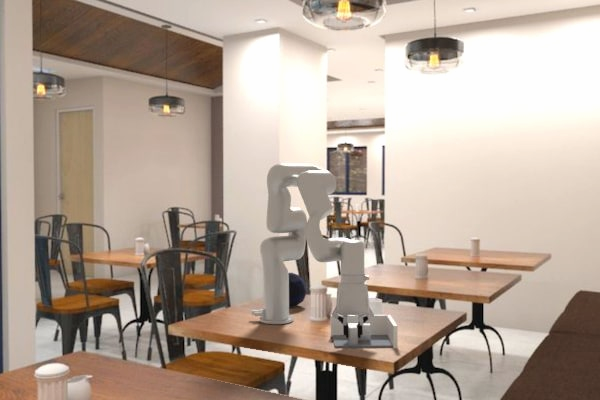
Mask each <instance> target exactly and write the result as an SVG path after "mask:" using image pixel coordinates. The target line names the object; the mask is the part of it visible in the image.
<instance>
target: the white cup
mask: <svg viewBox="0 0 600 400" xmlns="http://www.w3.org/2000/svg"><path fill="white" fill-rule="evenodd" d="M369 307H370V309H371V310H372V312H373V314H374V315H383V314H382V313H383V299H381V298H376V297H369Z"/></svg>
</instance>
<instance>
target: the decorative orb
mask: <svg viewBox="0 0 600 400" xmlns="http://www.w3.org/2000/svg"><path fill="white" fill-rule="evenodd" d="M288 274H289V308H294V306H296V307H297V306H298V305H299V304H301V303H302V302H304V300H305V298H306V295H307V285H306V282H305V280H304V279H303V278H302V277H301V275H300V274H299V275H298V274H297V273H293V272H288Z"/></svg>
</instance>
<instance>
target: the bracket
mask: <svg viewBox="0 0 600 400" xmlns="http://www.w3.org/2000/svg"><path fill="white" fill-rule="evenodd" d="M357 324H358V323H348V341H349V344H350V345H358V341H370V323H364V324H363V325H362V335H361V338H358V329H357Z"/></svg>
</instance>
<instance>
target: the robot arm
mask: <svg viewBox="0 0 600 400" xmlns="http://www.w3.org/2000/svg"><path fill="white" fill-rule="evenodd" d="M266 185H267V194H268V195H267V196H268V197H267V210H266V211H267V212H266V228H267V230H268V231H269V232H270V233H272V234H287V233H288V235H279V236H278V235H276V236H269V237H267V238H264V239H263V240H262V241H261V244H260V247H259V250H260V256H261V262H262V272H263V273H262V275H263V277H262V279H263V282H262V283H263V287H262V288H263V308H261V309H259V310H257V309H252V310H251V316H255V317H258V316H260V317H259V322H261V323H262V324H266V325H284V324H289V323H292V322H293V321H294V316H292V315H290V307H289V274H288V273H289V271H288V268H287V267H286V264H285V263H284V262H286V261H287V262H289V261H297V260H300V259H301V258H302V257H303V256H304V254H305V250H306V243H307V245H308V249H309V251H310V253H311V255H312V257H313V258H314V260H316V261H317V262H318V263H333V262H340V282H338V284H337V288H336V289H337V291H336V302H335V303H336V306H335V307H334V310H333V311H332V313H331V315H332V317H334V318H336V319H338V320H339V321H340V322H341V323H342V324H343V333H344V335H346V338H348V323H347V317H348V316H358V318H359V322H358V324H357V329H358V338H361V335H362V325H363V324H364V323H365V322H366V321H367V320H368V319H370V318H372V317H373V316H374V314H373V312H372V310H371V309H370V307H369V298H370V297H369V291H368V284H367V282H366V281H369V280H370V275H366V274H365V243H364V242H363V241H362V240H360V239H359V240H357V239H350V238H347V237H346V238H345V237H331V238H324V236H323V234H322V231H321V227H320V223H321V220H324V219H326V217H328V216H330V215H331V214H332V212H333V210H334V208H333V207H334V206H333V204H332V202H331V199H330V197H329V195H331V194H333V193H334V192H335V191H336V189H337V180H336V177H335V175H334V174H333V173H332V172H331V171H329V170H327V169H324V168H322V167H319V166H317V165H314V164H310V163H294V162H293V163H292V162H291V163H290V162H282V163H276V164H274V165H273V166H271V168H269V170H268V173H267V176H266ZM289 187H293V188H298V191H299V193H300V196H301V199H302V201H303V203H304V206H305V208H306V209H305V210H306V211H307V214H308V218H307V215H306V212H305V211H304V210H303V209H302V208H300V207H297V206H296V207H295V206H294V207H293V206H291V202H292V196H291V192H290V190H289ZM339 315H341V316H343V318H342V317H341V316H339ZM364 315H366V316H364ZM363 316H364V317H363Z"/></svg>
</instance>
